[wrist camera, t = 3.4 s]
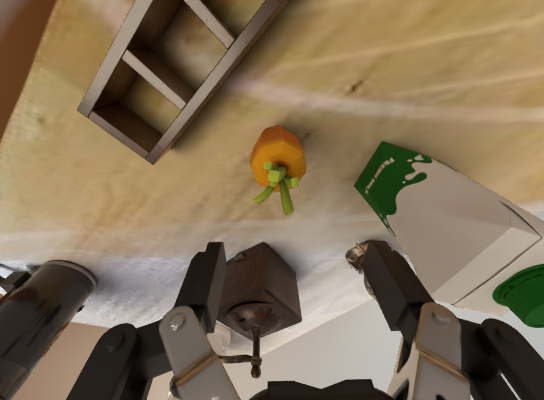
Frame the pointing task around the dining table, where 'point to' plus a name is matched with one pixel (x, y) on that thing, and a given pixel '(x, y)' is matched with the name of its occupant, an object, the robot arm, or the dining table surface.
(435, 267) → the milk carton
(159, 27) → the rack
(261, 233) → the dining table surface
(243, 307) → the manual coffee grinder
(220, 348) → the decorative container
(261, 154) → the carrot
